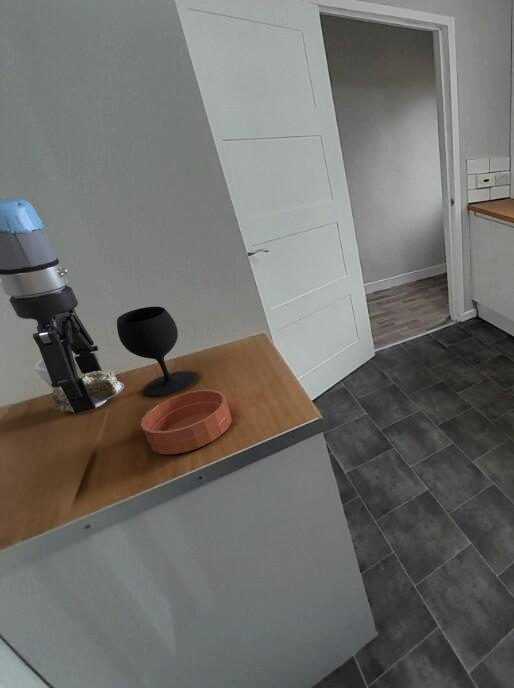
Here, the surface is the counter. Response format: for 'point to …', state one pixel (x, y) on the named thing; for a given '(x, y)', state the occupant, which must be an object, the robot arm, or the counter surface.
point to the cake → (91, 389)
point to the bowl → (186, 421)
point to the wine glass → (153, 345)
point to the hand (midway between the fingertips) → (91, 395)
